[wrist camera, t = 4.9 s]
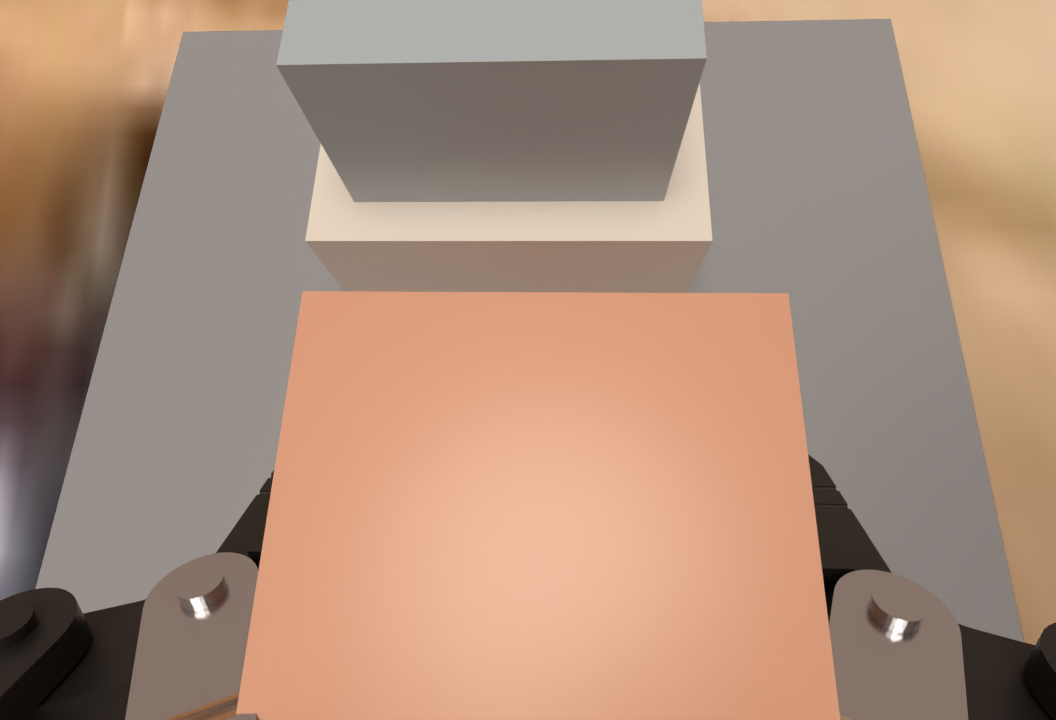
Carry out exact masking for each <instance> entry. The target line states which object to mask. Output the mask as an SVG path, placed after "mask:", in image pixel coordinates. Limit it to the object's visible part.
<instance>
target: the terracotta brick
mask: <svg viewBox="0 0 1056 720" xmlns="http://www.w3.org/2000/svg"><path fill="white" fill-rule="evenodd" d="M251 713H256V715H257V720H840V712H839V704H838V696H837V688H836V680H835V671H834V663H833V655H832V647H831V639H830V630H829V622H828V614H827V606H826V598H825V589H824V581H823V573H822V565H821V557H820V548H819V540H818V532H817V524H816V516H815V507H814V499H813V491H812V483H811V474H810V466H809V458H808V450H807V442H806V433H805V425H804V417H803V409H802V401H801V392H800V384H799V376H798V368H797V360H796V351H795V343H794V335H793V327H792V319H791V310H790V302H789V294H788V293H600V292H361V291H302V297H301V304H300V310H299V316H298V323H297V329H296V335H295V342H294V348H293V355H292V361H291V367H290V374H289V380H288V386H287V393H286V399H285V405H284V412H283V418H282V424H281V431H280V437H279V444H278V450H277V456H276V463H275V469H274V475H273V482H272V488H271V494H270V501H269V507H268V513H267V520H266V526H265V533H264V539H263V545H262V552H261V558H260V564H259V571H258V577H257V583H256V590H255V596H254V602H253V609H252V615H251V622H250V628H249V634H248V641H247V647H246V653H245V660H244V666H243V672H242V679H241V685H240V691H239V698H238V704H237V711H236V714H251Z"/></svg>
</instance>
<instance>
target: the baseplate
mask: <svg viewBox="0 0 1056 720" xmlns="http://www.w3.org/2000/svg"><path fill="white" fill-rule="evenodd" d="M704 32H705V43H706V55H707V59H706V63H705V66H704V69H703V73H702V76H701V79H700V92H701V104H702V117H703V129H704V142H705V154H706V166H707V179H708V191H709V203H710V216H711V228H712V243H711V245H710V247H709V249H708V251H707V253H706V255H705V257H704V259H703V261H702V263H701V265H700V267H699V269H698V271H697V273H696V275H695V277H694V279H693V281H692V283H691V285H690V287H689V289H688V292H687V293H788V294H789V302H790V310H791V319H792V327H793V335H794V343H795V351H796V360H797V368H798V376H799V384H800V392H801V401H802V409H803V417H804V425H805V433H806V442H807V450H808V455H810V456H811V457H812V458H814V459H815V460H816V461H818V462H819V463H820V464H822V465H823V467H824V468H825V470H826V471H827V473H828V474H829V476H830V478H831V479H832V481H833V482H834V484H835V485H836V490H837V491H840V493H841V495H842V496H843V498H844V499H845V501H846V502H847V504H848V509H851V510H852V512H853V513H854V515H855V516H856V518H857V519H858V521H859V522H860V524H861V526H862V527H863V529H864V530H865V532H866V533H867V535H868V536H869V538H870V540H871V541H872V543H873V544H874V546H875V547H876V549H877V550H878V552H879V553H880V555H881V557H882V558H883V560H884V561H885V563H886V564H887V566H888V567H889V569H890V571H891V572H892V574H896V575H899V576H901V577H904V578H907V579H909V580H911V581H913V582H915V583H917V584H918V585H920V586H922V587H923V588H925V589H927V590H928V591H929V592H931V593H932V594H934V595H935V596H936V597H937V598H938V599H939V600H940V601H942V602H943V603H944V604H945V605H946V607H947V608H948V609H949V610H950V611H951V613H952V614H953V616H954V617H955V619H956V621H957V623H958V624H961V625H963V626H967V627H970V628H973V629H976V630H980V631H984V632H987V633H991V634H995V635H998V636H1002V637H1006V638H1009V639H1013V640H1017V641H1020V642H1024V638H1023V634H1022V629H1021V624H1020V620H1019V615H1018V610H1017V606H1016V601H1015V596H1014V592H1013V587H1012V582H1011V578H1010V573H1009V568H1008V564H1007V559H1006V554H1005V550H1004V545H1003V540H1002V536H1001V531H1000V526H999V522H998V517H997V512H996V508H995V503H994V498H993V494H992V489H991V484H990V480H989V475H988V470H987V466H986V461H985V456H984V452H983V447H982V442H981V438H980V433H979V428H978V424H977V419H976V414H975V410H974V405H973V400H972V396H971V391H970V386H969V382H968V377H967V372H966V368H965V363H964V358H963V354H962V349H961V344H960V340H959V335H958V330H957V326H956V321H955V316H954V312H953V307H952V302H951V298H950V293H949V288H948V284H947V279H946V274H945V270H944V265H943V260H942V256H941V251H940V246H939V242H938V237H937V232H936V228H935V223H934V218H933V214H932V209H931V204H930V200H929V195H928V190H927V186H926V181H925V176H924V172H923V167H922V162H921V158H920V153H919V148H918V144H917V139H916V134H915V130H914V125H913V120H912V116H911V111H910V106H909V102H908V97H907V93H906V88H905V83H904V79H903V74H902V69H901V65H900V60H899V55H898V51H897V46H896V41H895V37H894V32H893V27H892V23H891V19H858V20H804V21H750V22H704ZM282 33H283V30H263V31H208V32H183V35H182V39H181V42H180V46H179V50H178V54H177V58H176V61H175V65H174V69H173V73H172V76H171V80H170V84H169V88H168V91H167V95H166V99H165V103H164V106H163V110H162V114H161V118H160V122H159V125H158V129H157V133H156V137H155V140H154V144H153V148H152V152H151V155H150V159H149V163H148V167H147V171H146V174H145V178H144V182H143V186H142V189H141V193H140V197H139V201H138V204H137V208H136V212H135V216H134V220H133V223H132V227H131V231H130V235H129V238H128V242H127V246H126V250H125V253H124V257H123V261H122V265H121V269H120V272H119V276H118V280H117V284H116V287H115V291H114V295H113V299H112V302H111V306H110V310H109V314H108V317H107V321H106V325H105V329H104V333H103V336H102V340H101V344H100V348H99V351H98V355H97V359H96V363H95V366H94V370H93V374H92V378H91V382H90V385H89V389H88V393H87V397H86V400H85V404H84V408H83V412H82V415H81V419H80V423H79V427H78V431H77V434H76V438H75V442H74V446H73V449H72V453H71V457H70V461H69V464H68V468H67V472H66V476H65V480H64V483H63V487H62V491H61V495H60V498H59V502H58V506H57V510H56V513H55V517H54V521H53V525H52V528H51V532H50V536H49V540H48V544H47V547H46V551H45V555H44V559H43V562H42V566H41V570H40V574H39V577H38V581H37V585H36V589H39V588H60V589H64V590H66V591H68V592H70V593H71V594H72V595H73V596H74V597H75V599H76V601H77V603H78V605H79V607H80V609H81V611H82V613H88V612H92V611H97V610H101V609H106V608H110V607H115V606H119V605H124V604H128V603H133V602H137V601H142V600H145V599H147V597H148V595H149V593H150V592H151V590H152V589H153V588H154V587H155V585H156V584H157V583H158V582H159V581H160V580H161V579H163V578H164V577H165V576H166V575H167V574H169V573H170V572H171V571H173V570H174V569H176V568H177V567H179V566H181V565H183V564H185V563H187V562H189V561H191V560H194V559H196V558H199V557H202V556H205V555H210V554H214V553H216V552H217V550H218V549H219V548H220V546H221V545H222V543H223V542H224V540H225V539H226V538H227V536H228V535H229V533H230V532H231V530H232V529H233V528H234V526H235V525H236V523H237V522H238V520H239V519H240V518H241V516H242V515H243V513H244V512H245V510H246V509H247V508H248V506H249V505H250V503H251V502H252V500H253V499H254V498H255V496H256V495H259V493H260V489H261V488H262V486H263V485H264V483H265V482H266V480H267V479H268V478H271V473H272V472H273V470H274V469H275V463H276V456H277V450H278V444H279V437H280V431H281V424H282V418H283V412H284V405H285V399H286V393H287V386H288V380H289V374H290V367H291V361H292V355H293V348H294V342H295V335H296V329H297V323H298V316H299V310H300V304H301V297H302V291H344V289H343V288H342V287H341V286H340V284H339V283H338V282H337V280H336V279H335V278H334V277H333V275H332V274H331V273H330V272H329V270H328V269H327V268H326V267H325V265H324V264H323V263H322V262H321V260H320V259H319V258H318V257H317V255H316V254H315V253H314V252H313V250H312V249H311V248H310V246H309V245H308V244H307V243H306V241H305V239H306V232H307V226H308V220H309V214H310V207H311V201H312V195H313V189H314V182H315V176H316V170H317V164H318V158H319V151H320V145H321V143H320V141H319V139H318V138H317V136H316V134H315V132H314V131H313V129H312V127H311V125H310V124H309V122H308V120H307V118H306V116H305V115H304V113H303V111H302V109H301V108H300V106H299V104H298V102H297V101H296V99H295V97H294V95H293V94H292V92H291V90H290V88H289V87H288V85H287V83H286V81H285V80H284V78H283V76H282V74H281V73H280V71H279V69H278V67H277V66H276V63H277V58H278V53H279V48H280V43H281V38H282Z"/></svg>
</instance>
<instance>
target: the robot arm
mask: <svg viewBox="0 0 1056 720" xmlns="http://www.w3.org/2000/svg"><path fill="white" fill-rule="evenodd" d="M808 458H809V466H810V474H811V483H812V491H813V499H814V507H815V516H816V524H817V532H818V540H819V548H820V557H821V565H822V573H823V581H824V589H825V598H826V606H827V614H828V622H829V630H830V639H831V647H832V655H833V663H834V671H835V680H836V688H837V696H838V704H839V712H840V720H1056V623H1054V624H1051V625H1049V626H1048V627H1047V628H1045V629H1044V631H1043V632H1042V634H1041V636H1040V638H1039V640H1038V642H1037V644H1036V645H1031V644H1028V643H1024V642H1020V641H1017V640H1013V639H1009V638H1006V637H1002V636H998V635H995V634H991V633H987V632H984V631H980V630H976V629H973V628H970V627H967V626H963V625H961V624H958V623H957V621H956V619H955V617H954V616H953V614H952V613H951V611H950V610H949V609H948V608H947V607H946V605H945V604H944V603H943V602H942V601H940V600H939V599H938V598H937V597H936V596H935V595H934V594H932V593H931V592H929V591H928V590H927V589H925V588H923V587H922V586H920V585H918V584H917V583H915V582H913V581H911V580H909V579H907V578H904V577H901V576H899V575H896V574H892V572H891V571H890V569H889V567H888V566H887V564H886V563H885V561H884V560H883V558H882V557H881V555H880V553H879V552H878V550H877V549H876V547H875V546H874V544H873V543H872V541H871V540H870V538H869V536H868V535H867V533H866V532H865V530H864V529H863V527H862V526H861V524H860V522H859V521H858V519H857V518H856V516H855V515H854V513H853V512H852V510H851V509H848V504H847V502H846V501H845V499H844V498H843V496H842V495H841V493H840V491H837V490H836V485H835V484H834V482H833V481H832V479H831V478H830V476H829V474H828V473H827V471H826V470H825V468H824V467H823V465H822V464H820V463H819V462H818V461H816V460H815V459H814V458H812V457H811V456H810V455H808ZM273 475H274V470H273V472H272V473H271V478H268V479H267V480H266V482H265V483H264V485H263V486H262V488H261V489H260V493H259V495H256V496H255V498H254V499H253V500H252V502H251V503H250V505H249V506H248V508H247V509H246V510H245V512H244V513H243V515H242V516H241V518H240V519H239V520H238V522H237V523H236V525H235V526H234V528H233V529H232V530H231V532H230V533H229V535H228V536H227V538H226V539H225V540H224V542H223V543H222V545H221V546H220V548H219V549H218V550H217V552H216V553H214V554H210V555H205V556H202V557H199V558H196V559H194V560H191V561H189V562H187V563H185V564H183V565H181V566H179V567H177V568H176V569H174V570H173V571H171V572H170V573H169V574H167V575H166V576H165V577H164V578H163V579H161V580H160V581H159V582H158V583H157V584H156V585H155V587H154V588H153V589H152V590H151V592H150V593H149V595H148V597H147V599H145V600H142V601H137V602H133V603H128V604H124V605H119V606H115V607H110V608H106V609H101V610H97V611H92V612H88V613H82V611H81V609H80V607H79V605H78V603H77V601H76V599H75V597H74V596H73V595H72V594H71V593H70V592H68V591H66V590H64V589H60V588H39V589H34V590H29V591H25V592H22V593H18V594H16V595H13V596H10V597H8V598H5V599H3V600H1V601H0V720H257V715H256V713H251V714H236V711H237V704H238V698H239V691H240V685H241V679H242V672H243V666H244V660H245V653H246V647H247V641H248V634H249V628H250V622H251V615H252V609H253V602H254V596H255V590H256V583H257V577H258V571H259V564H260V558H261V552H262V545H263V539H264V533H265V526H266V520H267V513H268V507H269V501H270V494H271V488H272V482H273Z"/></svg>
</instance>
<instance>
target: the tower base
mask: <svg viewBox="0 0 1056 720" xmlns="http://www.w3.org/2000/svg"><path fill="white" fill-rule="evenodd" d="M706 59H707V55H706V43H705V32H704V20H703V9H702V0H289V3H288V8H287V13H286V18H285V23H284V28H283V33H282V38H281V43H280V48H279V53H278V58H277V63H276V66H277V67H278V69H279V71H280V73H281V74H282V76H283V78H284V80H285V81H286V83H287V85H288V87H289V88H290V90H291V92H292V94H293V95H294V97H295V99H296V101H297V102H298V104H299V106H300V108H301V109H302V111H303V113H304V115H305V116H306V118H307V120H308V122H309V124H310V125H311V127H312V129H313V131H314V132H315V134H316V136H317V138H318V139H319V141H320V143H321V145H320V151H319V158H318V164H317V170H316V176H315V182H314V189H313V195H312V201H311V207H310V214H309V220H308V226H307V232H306V239H305V241H306V243H307V244H308V245H309V246H310V248H311V249H312V250H313V252H314V253H315V254H316V255H317V257H318V258H319V259H320V260H321V262H322V263H323V264H324V265H325V267H326V268H327V269H328V270H329V272H330V273H331V274H332V275H333V277H334V278H335V279H336V280H337V282H338V283H339V284H340V286H341V287H342V288H343V289H344V291H361V292H600V293H687V292H688V289H689V287H690V285H691V283H692V281H693V279H694V277H695V275H696V273H697V271H698V269H699V267H700V265H701V263H702V261H703V259H704V257H705V255H706V253H707V251H708V249H709V247H710V245H711V243H712V228H711V216H710V203H709V191H708V179H707V166H706V154H705V142H704V129H703V117H702V104H701V92H700V79H701V76H702V73H703V69H704V66H705V63H706Z"/></svg>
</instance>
